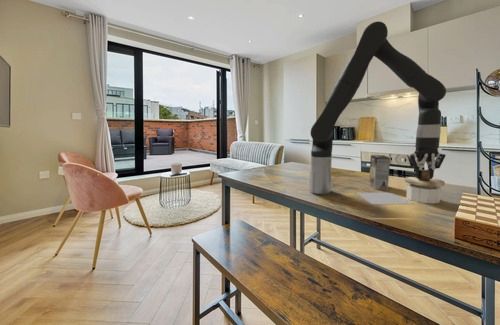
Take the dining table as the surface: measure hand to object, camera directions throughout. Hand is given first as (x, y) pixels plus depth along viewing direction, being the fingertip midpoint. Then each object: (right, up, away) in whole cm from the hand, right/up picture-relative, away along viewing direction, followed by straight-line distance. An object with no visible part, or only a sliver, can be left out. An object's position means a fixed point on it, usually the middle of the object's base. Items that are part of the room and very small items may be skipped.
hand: (424, 178), depth 94 cm
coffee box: (-7, -6, +21) cm, 23 cm away
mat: (-15, -9, +4) cm, 18 cm away
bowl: (0, -9, +1) cm, 9 cm away
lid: (0, -2, 0) cm, 2 cm away
